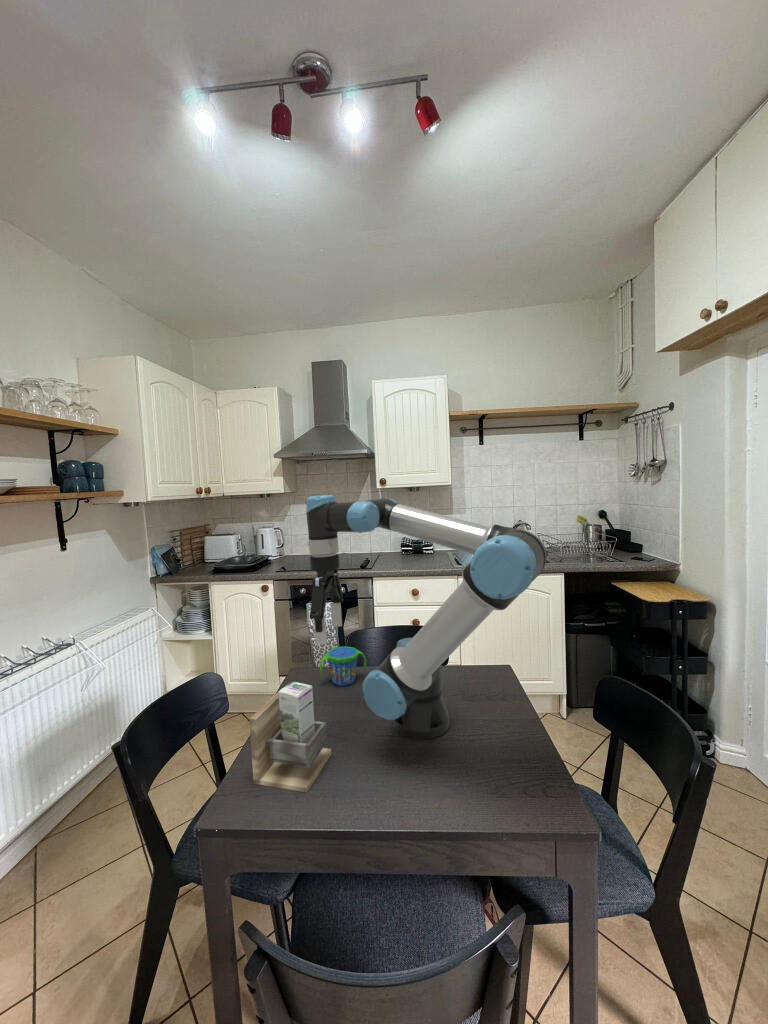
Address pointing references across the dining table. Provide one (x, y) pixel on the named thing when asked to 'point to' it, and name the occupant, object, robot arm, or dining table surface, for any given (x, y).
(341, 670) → the snack cup
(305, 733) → the syrup box
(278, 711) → the wooden caddy with bin
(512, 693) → the dining table surface
